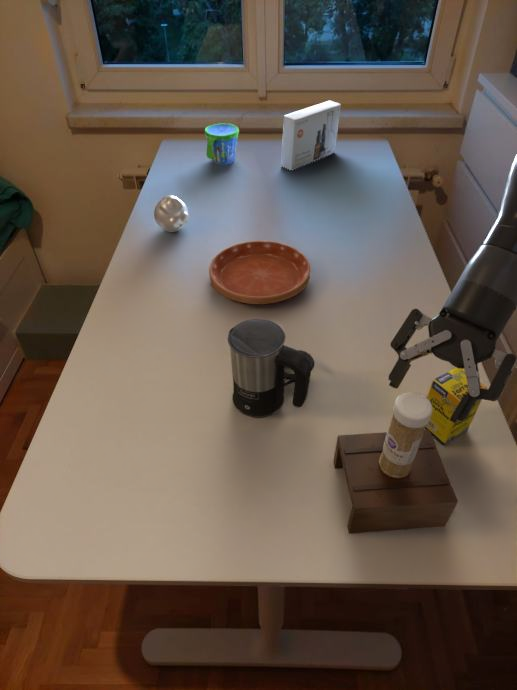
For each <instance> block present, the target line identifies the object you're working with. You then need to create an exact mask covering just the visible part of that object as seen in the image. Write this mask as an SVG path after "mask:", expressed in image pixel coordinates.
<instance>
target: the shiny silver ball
mask: <svg viewBox="0 0 517 690" xmlns="http://www.w3.org/2000/svg"><path fill="white" fill-rule="evenodd" d="M153 217H154V218H153V219H154V222H155V223H156V224H157V226H158V227H159V228H160V229H161V230H162V231H165V232H168V233H176V232H178V231H181V230H183V228H184V227H185V226H186V225H187V223H188V222H189V220H190V213H189V209H188V206H187V205H186V204H185V202H184V201H182V199H180V198H179V197H177V196H175V195H165V196H163V197H162V198H161V199H160V200H159V201H158V202H157V203H156V205H155V206H154V210H153Z"/></svg>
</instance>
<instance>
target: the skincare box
mask: <svg viewBox="0 0 517 690" xmlns="http://www.w3.org/2000/svg"><path fill="white" fill-rule="evenodd" d="M341 109H342V104H341V103H339V102H337V101H336V102H335V101H333V100H327V101H324V102H321V103H318V104H314V105H312V106H308V107H305V108H303V109H300V110H296V111H293V112H290V113H288V114H284V115H283V124H282V137H281V138H282V140H281V141H282V142H281V156H280V158H281V159H280V166H281V167H282V166H283V167H282V168H284V167H285V168H284V169H286V168H287V169H286V170H288V169H289V171H290V170H292V169H295V168H297V169H299V168H298V167H300V166H302V165H304V164H307V163H309V162H312V161H314V160H317V159H319V158H322V157H324V156H327V155H329V154H332V153H334V152H335V153H336V146H337V140H338V131H339V124H340V123H339V122H340V117H341V116H340V115H341ZM335 153H334V154H335ZM332 155H333V154H332ZM329 156H330V155H329ZM327 157H328V156H327ZM324 158H325V157H324ZM322 159H323V158H322ZM319 160H320V159H319ZM317 161H318V160H317ZM314 162H315V161H314ZM312 163H313V162H312ZM309 164H310V163H309ZM307 165H308V164H307ZM304 166H305V165H304ZM302 167H303V166H302ZM300 168H301V167H300ZM295 170H296V169H295ZM292 171H293V170H292Z"/></svg>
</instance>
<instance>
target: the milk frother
mask: <svg viewBox="0 0 517 690" xmlns="http://www.w3.org/2000/svg"><path fill="white" fill-rule="evenodd" d="M227 334H228V335H227V344H228V346H229V351H230V359H231V361H230V362H231V373H232V383H233V384H232V385H233V386H232V387H233V388H232V389H233V392H232V402H233V405H234V407H235V408H236V410H237V411H239V412H240V413H241V414H243V415H245V416H247V417H252V418H263V417H268V416H272V415H273V414H275V413H276V412H278V410H279V409H280V408H281V407H282V406H283V404H284V402H285V401H284V400H285V388H286V387H287V386H289V385H292V384H293V383H294V386H293V393H292V406H293V407H295V408H301V407H303V405H304V404H305V402H306V400H307V397H308V393H309V392H308V391H309V386H310V382H311V374H312V371H313V370H314V368H315V360H314V358H313V356H312V354H310V353H309V352H307V351H305V350H301V349H296V348H292V347H290V346H287V345H285V343H286V333H285V331H284V329H283V328H282V327H281V326H280V325H279V324H278V323H276V322H274V321H272V320H268V319H266V318H265V319H264V318H250V319H246V320H242V321H240V322H238V323H236V325H234V326H233V327H231V328H230V329H229V331H228V333H227ZM286 368H288V369H289V370H291V371H292V372H293V373H292V372H291V373H290V372H286V370H285V369H286ZM286 380H287V381H286Z"/></svg>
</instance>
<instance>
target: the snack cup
mask: <svg viewBox="0 0 517 690" xmlns="http://www.w3.org/2000/svg"><path fill="white" fill-rule="evenodd" d="M239 133H240V129H239V127H238V126H237V125H235V124H232V123H227V122H219V123H218V122H217V123H213V124H210V125H208V126H206V127H205V129H204V135H205V137H206V139H207V143H206V144H207V145H206V157H207V158H208V159H209V160H211V161H212V162H213V163H215V164H216V165H231V164H232V163H233V162H234V161H235V159H236V153H237V144H238V141H239V136H238V135H239Z"/></svg>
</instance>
